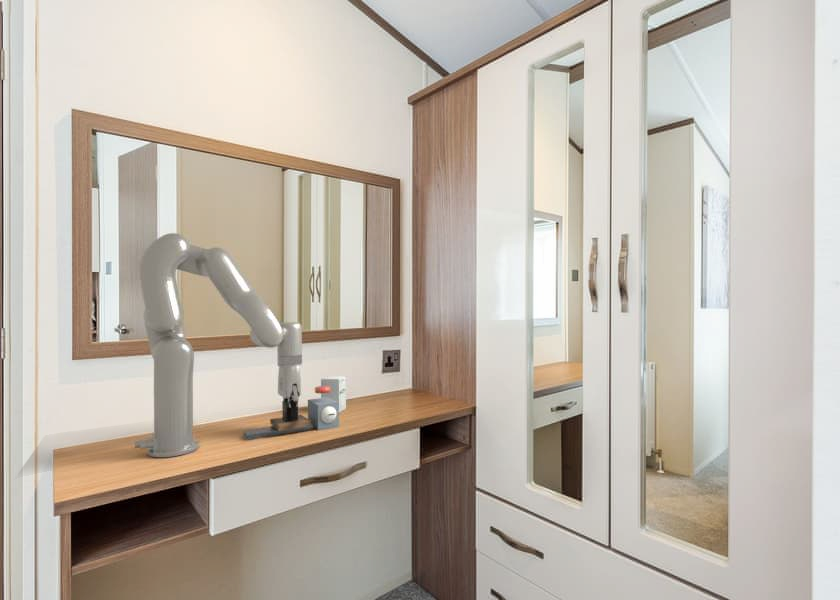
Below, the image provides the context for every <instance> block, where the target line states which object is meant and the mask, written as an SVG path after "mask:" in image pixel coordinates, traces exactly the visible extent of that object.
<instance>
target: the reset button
mask: <svg viewBox="0 0 840 600" xmlns="http://www.w3.org/2000/svg"><path fill="white" fill-rule="evenodd" d="M329 392H330V386H321V385H319V386H315V387H314V393H315V394H321V393H329Z"/></svg>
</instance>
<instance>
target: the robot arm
mask: <svg viewBox="0 0 840 600" xmlns="http://www.w3.org/2000/svg"><path fill="white" fill-rule="evenodd" d="M177 270H178V271H182V272H186V273H189V274H193V275H196V276H201V277H204V278H205V277H207V278H209V280H210V281H211V283H212V284H213V286H214V287H215V289H216V290H217V291H218V293H219V294H220V295H219V296H221V298H222V299H223V300H224V302H225V303H226V304H227V306H229V307H230V308H231V309H232V310H233V311H234V312H237V314H239V315H240V316H241V317H242V318H243V319H244V320H245V322H246V323H247V324H248V327H250V328H251V329H250V330H249V337H250V340H251V342H252V343H254V344H255V345H256V346H259V347H265V348H271V349H272V348H277V367H278V374H277V375H278V377H277V394H278V396H281V397H282V401H287V400H288V408H287V420H288V421H289V420H296V419H298V415H299V400H300V399H299V397H300V396H301V395H302V394H301V393H302V380H301V379H302V377H301V367H300V366H302V365H303V340H302V339H303V338H302V337H303V334H302V333H303V330H302V329H303V327H302V324H301V323H300V322H297V321H285V322H284V321H282V322H279V321H278V319H277V318H276V316H275V315H274V314H273V312H272V310H271V309H270V308H269V307H268V305H267V304H266V303H265V302H264V300H263V299H262V298H261V297H260V296H259V294H258V292H256V291H255V289H254V288H253V287H252V285H250V283H249V282H248V279H247V278H246V277H245V275H244V274H243V272H242V271H241V269H240V268H239V266H238V265H237V263H236V262H235V260H234V259H233V257H232V256H231V254H230V253H229V252H228V251H227V250H226V249H224V248H221V247H212V248H204V247H201V246H197V245H193V244H190V242H189V240H188V239H187V237H185V236H184V235H182V234H179V233H175V232H173V233H166V234H163V235H162V236H160V237H158V238H157V239H155V240H154V241H153V242H152V243H150V245H148V246H147V248H146V249H145V251H144V252H143V255H142V257H141V260H140V264H139V280H140V287H141V295H142V297H143V298H142V299H143V303H144V311H143V322H144V326H145V330H146V334H147V335H146V336H147V340H148V345H149V349H150V353H151V356H152V359H153V429H154V430H153V433H154V434H152V437H148V438H147V439H141V440H134V449H140V450H142V449H147V455H148V456H149V457H153V458H169V457H170V458H172V457H177V456H182V455H186V454H190V453H192V452H195V451H197V450H198V449H199V448H200V442H199V441H198V440H197V439H196V440H195V439H194V365H195V353H194V349H193V346H192V344H191V343H190V342H189V341H188V340H187V339H186V334H185V329H184V324H183V322H184V319H185V317H184V316H185V315H184V314H185V313H184V310H183V309H184V308H183V307H182V303H181V298H180V294H179V290H178V289H179V288H178V284H177V277H176V276H177V275H176V274H177ZM290 400H291V401H290Z"/></svg>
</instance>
